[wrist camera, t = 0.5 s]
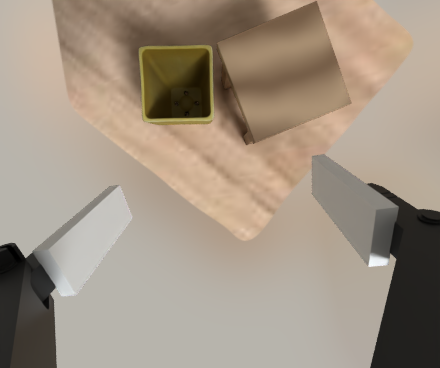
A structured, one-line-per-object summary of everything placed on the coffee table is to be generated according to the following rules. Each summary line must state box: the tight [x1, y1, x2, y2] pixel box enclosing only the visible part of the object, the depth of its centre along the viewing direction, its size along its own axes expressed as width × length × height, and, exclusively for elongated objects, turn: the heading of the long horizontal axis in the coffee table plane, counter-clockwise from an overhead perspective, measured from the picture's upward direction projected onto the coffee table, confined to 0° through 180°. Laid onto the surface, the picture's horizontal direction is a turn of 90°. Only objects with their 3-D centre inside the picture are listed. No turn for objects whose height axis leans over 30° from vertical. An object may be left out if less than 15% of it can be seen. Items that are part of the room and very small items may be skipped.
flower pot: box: [139, 45, 214, 125], centre depth 30 cm, size 9×9×9 cm
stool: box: [217, 1, 351, 145], centre depth 30 cm, size 12×12×10 cm
